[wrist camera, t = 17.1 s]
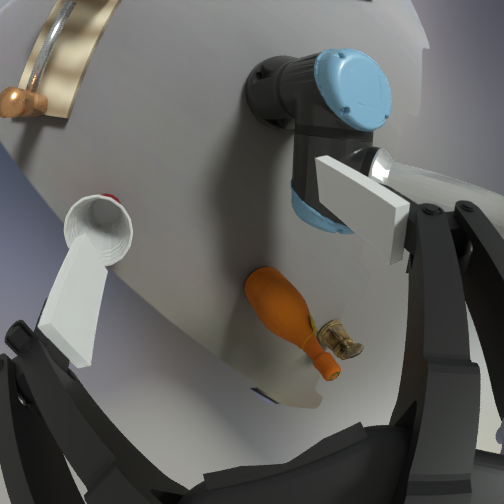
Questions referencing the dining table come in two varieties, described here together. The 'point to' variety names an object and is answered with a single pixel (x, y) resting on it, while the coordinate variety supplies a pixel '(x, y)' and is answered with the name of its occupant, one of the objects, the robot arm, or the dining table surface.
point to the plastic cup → (101, 226)
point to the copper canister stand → (69, 52)
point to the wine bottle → (288, 316)
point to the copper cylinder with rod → (34, 76)
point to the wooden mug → (339, 340)
